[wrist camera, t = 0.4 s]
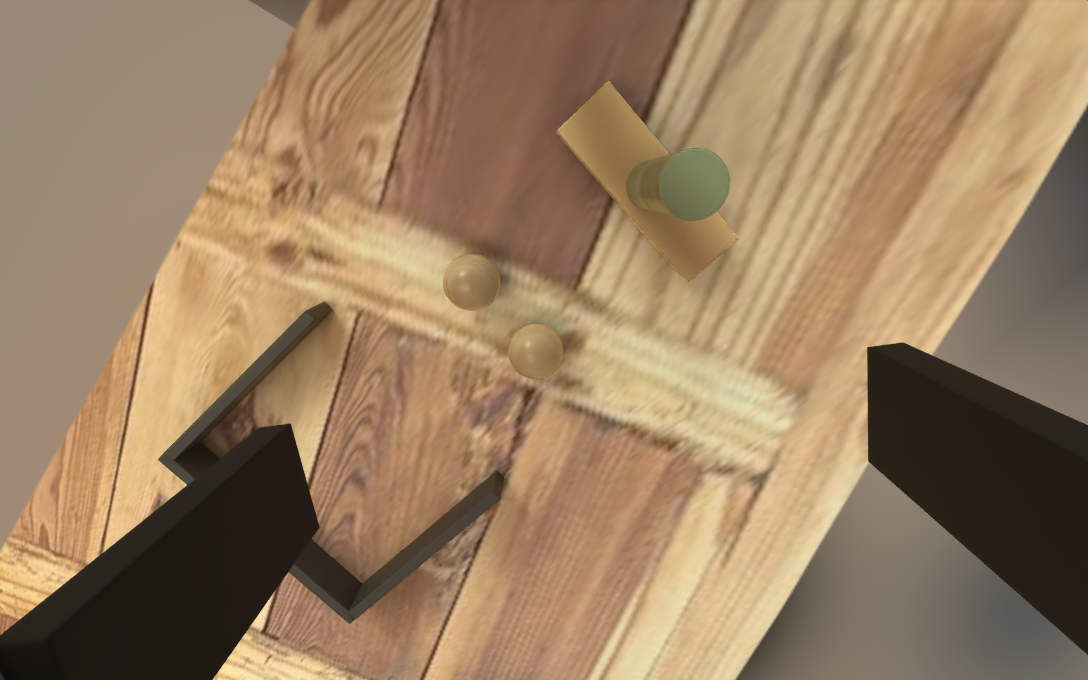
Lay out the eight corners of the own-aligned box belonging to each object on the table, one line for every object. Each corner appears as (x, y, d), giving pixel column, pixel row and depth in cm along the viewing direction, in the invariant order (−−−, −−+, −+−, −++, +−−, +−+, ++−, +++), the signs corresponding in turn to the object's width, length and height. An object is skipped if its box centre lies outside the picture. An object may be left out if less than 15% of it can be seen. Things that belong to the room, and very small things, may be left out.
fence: (324, 301, 39) (305, 310, 36) (504, 477, 42) (500, 499, 39) (184, 440, 42) (156, 459, 39) (362, 596, 45) (349, 624, 42)
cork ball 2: (506, 321, 39) (501, 334, 35) (559, 314, 39) (560, 327, 35) (514, 372, 40) (510, 389, 36) (566, 365, 40) (567, 383, 36)
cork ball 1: (444, 254, 38) (432, 261, 34) (498, 247, 38) (492, 253, 34) (453, 307, 39) (443, 319, 35) (506, 301, 39) (501, 312, 35)
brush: (605, 87, 35) (634, 24, 22) (728, 235, 37) (825, 262, 24) (556, 134, 36) (555, 102, 22) (679, 276, 38) (747, 326, 24)
